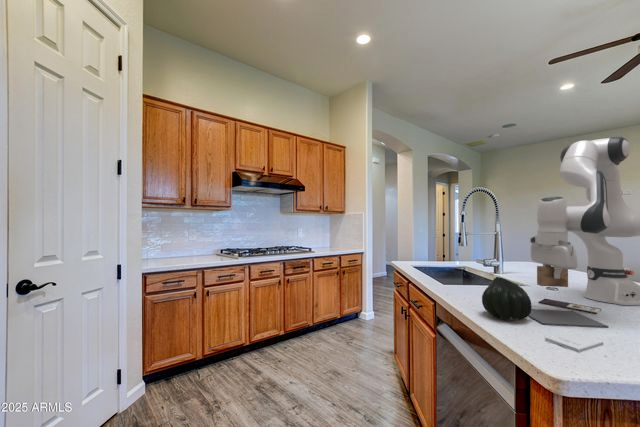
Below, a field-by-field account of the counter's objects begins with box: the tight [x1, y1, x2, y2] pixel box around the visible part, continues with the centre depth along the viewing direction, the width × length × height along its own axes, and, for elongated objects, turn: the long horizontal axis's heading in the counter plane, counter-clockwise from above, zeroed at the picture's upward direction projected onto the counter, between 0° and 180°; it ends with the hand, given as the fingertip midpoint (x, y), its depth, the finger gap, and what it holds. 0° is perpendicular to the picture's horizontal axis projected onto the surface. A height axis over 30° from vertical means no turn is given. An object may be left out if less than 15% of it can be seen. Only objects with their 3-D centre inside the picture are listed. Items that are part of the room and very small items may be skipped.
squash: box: [481, 276, 533, 321], centre depth 105 cm, size 14×15×15 cm
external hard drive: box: [544, 331, 604, 353], centre depth 83 cm, size 2×8×12 cm
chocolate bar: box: [537, 298, 602, 315], centre depth 118 cm, size 9×1×18 cm
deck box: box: [536, 265, 569, 288], centre depth 107 cm, size 9×3×7 cm, turn 83°
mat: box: [527, 308, 609, 329], centre depth 104 cm, size 20×16×1 cm
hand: (552, 277), depth 107 cm, fingers closed on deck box, 3 cm apart
